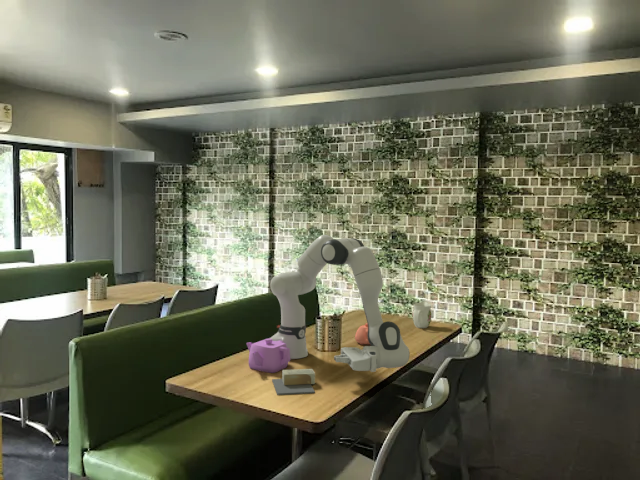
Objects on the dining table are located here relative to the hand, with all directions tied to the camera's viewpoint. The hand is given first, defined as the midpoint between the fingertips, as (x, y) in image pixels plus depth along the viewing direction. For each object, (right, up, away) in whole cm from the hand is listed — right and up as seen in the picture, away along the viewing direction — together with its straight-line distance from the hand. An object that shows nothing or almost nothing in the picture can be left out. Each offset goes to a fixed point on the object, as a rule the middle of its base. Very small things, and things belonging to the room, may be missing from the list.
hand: (334, 358), depth 202 cm
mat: (-16, -10, -3) cm, 19 cm away
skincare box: (-8, -7, +2) cm, 11 cm away
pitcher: (+54, -5, +103) cm, 116 cm away
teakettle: (-29, -9, +21) cm, 37 cm away
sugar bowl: (+18, -7, +64) cm, 67 cm away
